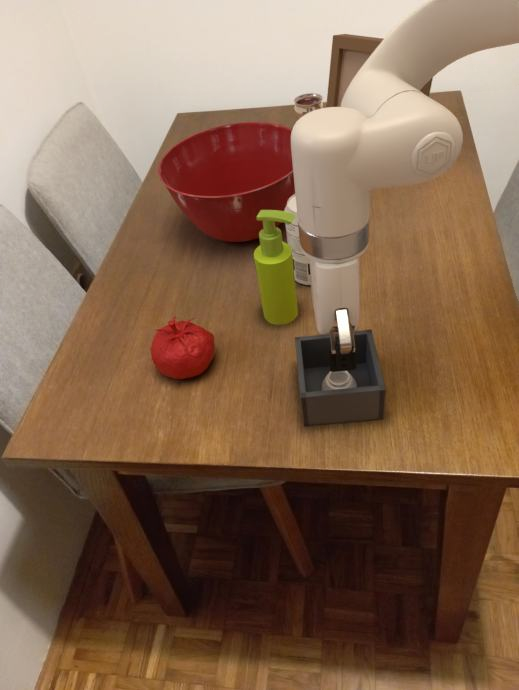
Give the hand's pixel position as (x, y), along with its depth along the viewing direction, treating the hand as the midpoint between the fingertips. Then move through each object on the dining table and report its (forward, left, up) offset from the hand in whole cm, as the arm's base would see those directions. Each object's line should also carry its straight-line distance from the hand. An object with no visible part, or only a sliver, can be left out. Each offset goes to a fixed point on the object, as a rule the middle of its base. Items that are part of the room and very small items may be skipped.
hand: (337, 341), depth 69 cm
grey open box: (-5, 0, -8) cm, 9 cm away
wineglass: (-3, -76, -11) cm, 77 cm away
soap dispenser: (+7, -18, -11) cm, 22 cm away
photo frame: (-18, -68, -11) cm, 71 cm away
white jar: (0, 0, -10) cm, 10 cm away
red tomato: (+23, -9, -11) cm, 27 cm away
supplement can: (+1, -28, -11) cm, 30 cm away
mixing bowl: (+14, -47, -11) cm, 50 cm away
